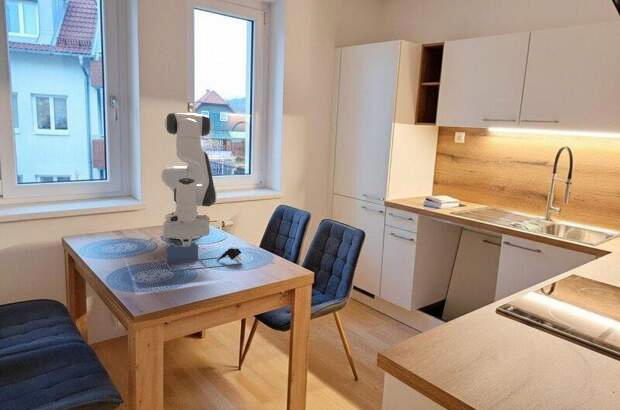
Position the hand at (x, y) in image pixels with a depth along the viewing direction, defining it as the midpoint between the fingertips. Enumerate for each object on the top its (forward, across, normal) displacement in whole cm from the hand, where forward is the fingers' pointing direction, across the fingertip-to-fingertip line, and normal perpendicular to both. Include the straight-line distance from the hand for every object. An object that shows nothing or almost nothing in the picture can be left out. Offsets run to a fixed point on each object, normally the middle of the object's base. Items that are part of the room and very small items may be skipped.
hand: (186, 246), depth 197 cm
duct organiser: (+9, -8, 0) cm, 12 cm away
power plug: (+11, -16, 0) cm, 19 cm away
